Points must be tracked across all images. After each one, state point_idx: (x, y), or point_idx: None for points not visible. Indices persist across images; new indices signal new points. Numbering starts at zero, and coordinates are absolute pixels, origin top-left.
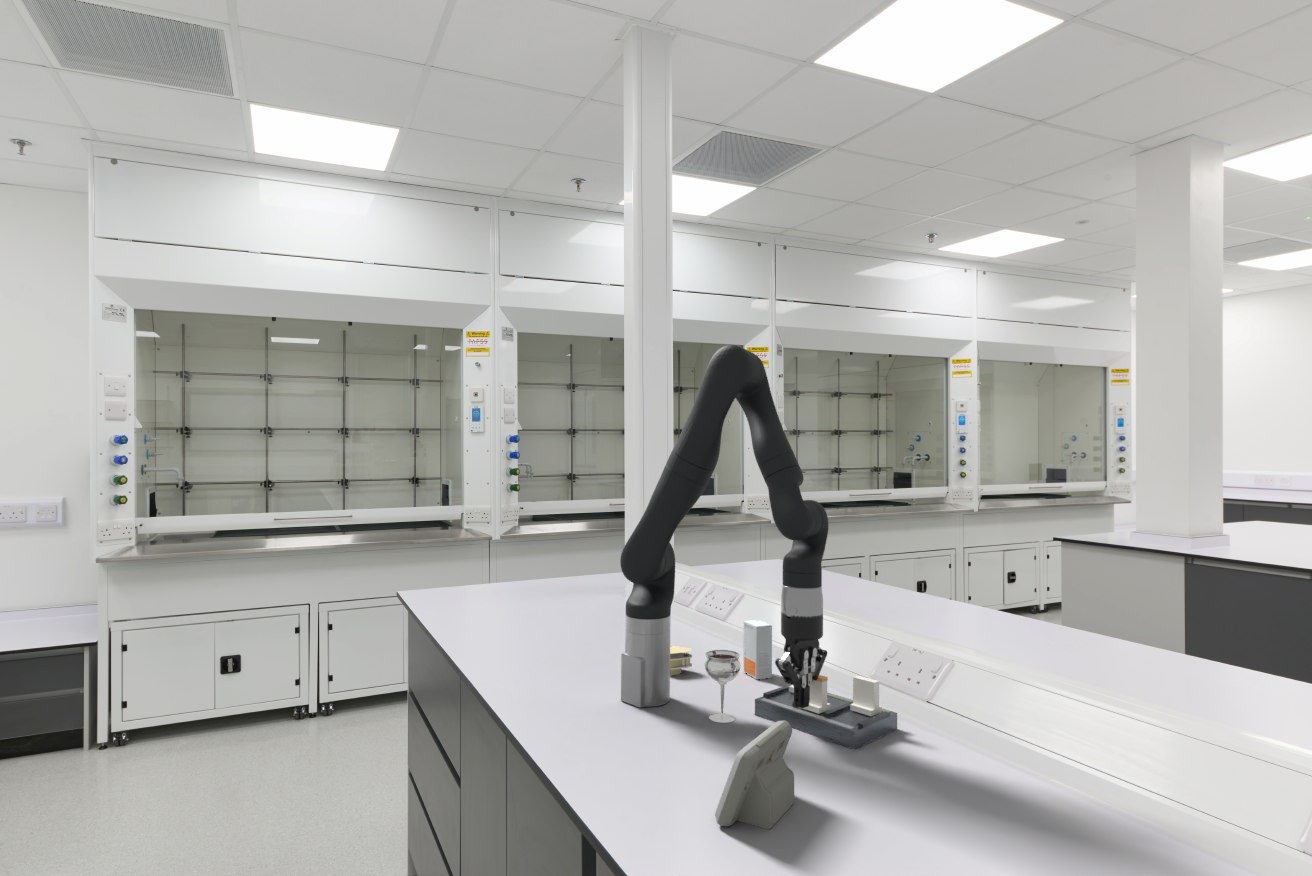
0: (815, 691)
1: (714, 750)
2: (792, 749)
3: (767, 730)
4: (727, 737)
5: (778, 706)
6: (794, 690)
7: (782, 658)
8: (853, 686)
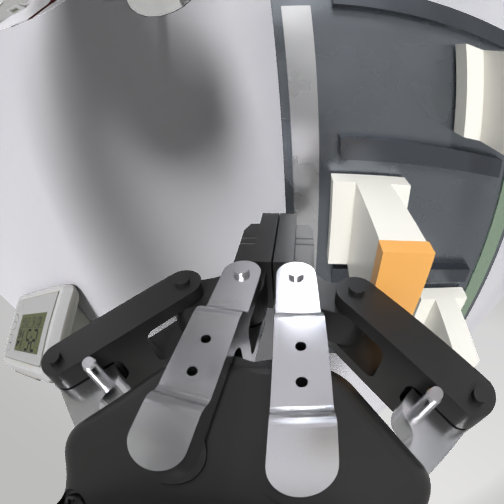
0: (357, 274)
1: (47, 154)
2: (178, 242)
3: (25, 371)
4: (91, 107)
5: (282, 104)
6: (235, 260)
7: (67, 398)
8: (449, 340)
